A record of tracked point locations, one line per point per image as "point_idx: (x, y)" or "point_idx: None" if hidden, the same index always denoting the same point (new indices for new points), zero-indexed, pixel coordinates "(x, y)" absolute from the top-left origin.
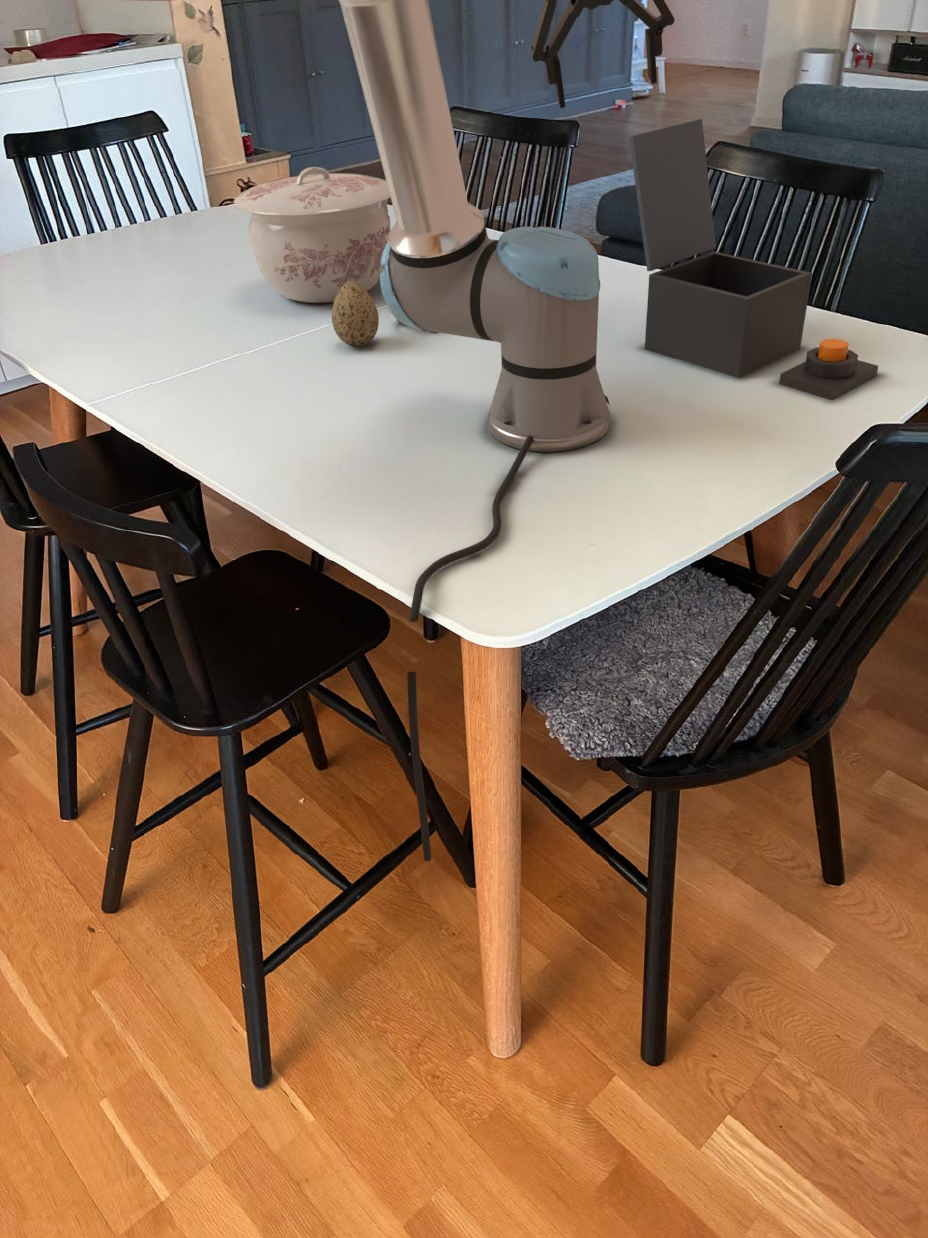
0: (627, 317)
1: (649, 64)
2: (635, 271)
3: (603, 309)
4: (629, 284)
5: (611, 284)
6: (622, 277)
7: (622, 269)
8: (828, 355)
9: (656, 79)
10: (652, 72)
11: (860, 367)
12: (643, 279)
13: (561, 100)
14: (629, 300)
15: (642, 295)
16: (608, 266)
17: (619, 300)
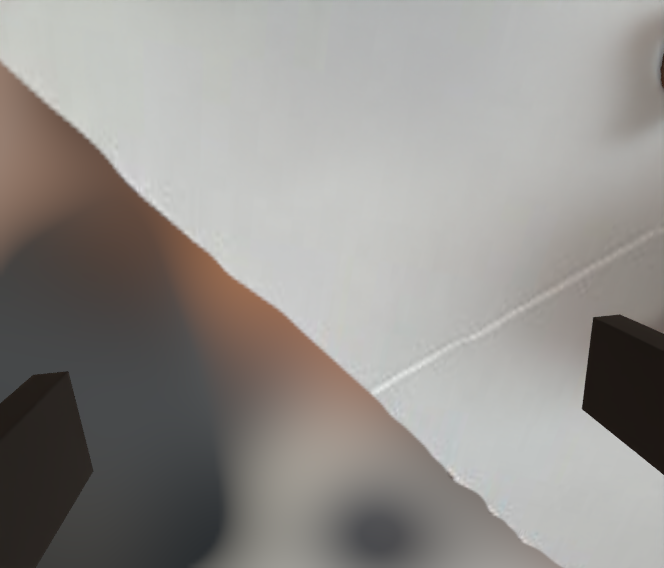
0: (312, 20)
1: (20, 479)
2: (271, 279)
3: (352, 82)
4: (287, 217)
5: (318, 223)
6: (295, 254)
7: (291, 292)
8: None
9: (24, 384)
10: (18, 407)
11: None
12: (261, 238)
13: (644, 329)
14: (296, 129)
15: (270, 154)
16: (312, 309)
17: (315, 132)
